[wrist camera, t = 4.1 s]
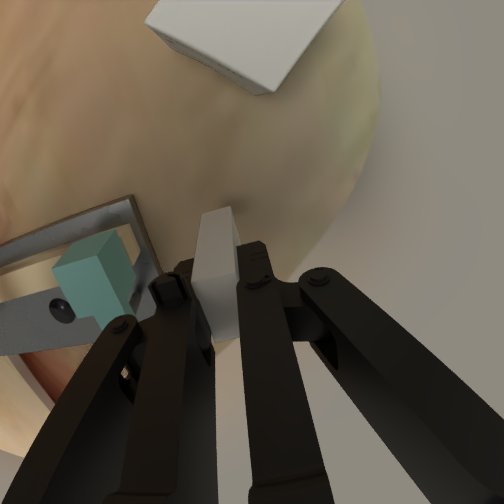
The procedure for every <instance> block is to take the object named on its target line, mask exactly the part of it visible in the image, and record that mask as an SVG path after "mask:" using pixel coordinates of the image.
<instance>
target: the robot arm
mask: <svg viewBox="0 0 504 504" xmlns="http://www.w3.org/2000/svg"><path fill="white" fill-rule="evenodd" d="M148 289H149V291H150V293H151V295H152V298H153V300H154V302H155V304H156V310H155V314H154V315H153V316H151V317H149V318H147V319H144V320H142V321H140V322H138V320H137V318H136V317H135V316H134V315H131V314H125V315H120V316H117V317H115V318H114V319H113V320H112V321H110V322H109V323H108V324H107V325H106V326H105V328H104V329H103V331H102V332H101V334H100V335H99V337H98V338H97V340H96V341H95V343H94V344H93V346H92V347H91V349H90V350H89V352H88V353H87V355H86V356H85V358H84V359H83V361H82V362H81V364H80V366H79V367H78V369H77V370H76V372H75V373H74V375H73V377H72V378H71V380H70V381H69V383H68V384H67V386H66V388H65V389H64V391H63V393H62V394H61V396H60V397H59V399H58V401H57V402H56V404H55V406H54V408H53V409H52V411H51V412H50V414H49V416H48V417H47V419H46V421H45V423H44V424H43V426H42V428H41V430H40V431H39V433H38V435H37V437H36V438H35V440H34V442H33V444H32V445H31V447H30V449H29V451H28V453H27V455H26V456H25V458H24V460H23V462H22V464H21V466H20V468H19V470H18V472H17V473H16V475H15V477H14V479H13V481H12V483H11V485H10V487H9V489H8V491H7V493H6V495H5V498H4V499H3V501H2V504H218V482H217V450H216V405H215V404H216V403H215V350H214V347H213V345H212V343H211V334H212V336H213V339H214V341H215V343H216V342H221V341H226V340H230V339H235V338H239V337H240V345H241V358H242V370H243V381H244V393H245V404H246V415H247V426H248V437H249V447H250V458H251V468H252V480H253V482H252V487H251V488H250V489H249V494H248V504H335V503H334V499H333V495H332V491H331V487H330V483H329V479H328V476H327V473H326V470H325V466H324V463H323V459H322V455H321V451H320V447H319V443H318V439H317V435H316V431H315V427H314V423H313V420H312V415H311V411H310V408H309V403H308V400H307V396H306V392H305V388H304V384H303V380H302V377H301V373H300V369H299V365H298V361H297V357H296V354H295V350H294V346H293V342H294V341H296V342H297V341H309V343H310V345H311V347H312V348H313V350H314V351H315V352H316V354H317V355H318V356H319V358H320V359H321V360H322V362H323V363H324V364H325V366H326V367H327V368H328V370H329V371H330V372H331V374H332V375H333V376H334V378H335V379H336V380H337V382H338V383H339V384H340V386H341V387H342V388H343V390H344V391H345V392H346V393H347V395H348V396H349V397H350V399H351V400H352V401H353V403H354V404H355V405H356V407H357V408H358V409H359V411H360V412H361V413H362V415H363V416H364V417H365V418H366V420H367V421H368V422H369V424H370V425H371V426H372V428H373V429H374V430H375V432H376V433H377V434H378V436H379V437H380V438H381V439H382V441H383V442H384V443H385V445H386V446H387V447H388V449H389V450H390V451H391V453H392V454H393V455H394V456H395V458H396V459H397V460H398V461H399V463H400V464H401V466H402V467H403V468H404V469H405V471H406V472H407V473H408V475H409V476H410V477H411V479H412V480H413V481H414V482H415V484H416V485H417V486H418V488H419V489H420V490H421V491H422V493H423V494H424V495H425V497H426V498H427V499H428V500H429V502H430V503H431V504H504V419H503V418H502V417H500V416H499V415H498V414H497V413H496V412H495V411H494V410H493V409H492V408H491V407H490V406H489V405H488V404H487V403H486V402H485V401H484V400H483V399H482V398H481V397H479V396H478V395H477V394H476V393H475V392H474V391H473V390H472V389H471V388H470V387H469V386H468V385H467V384H465V383H464V382H463V381H462V380H461V379H460V378H459V377H458V376H457V375H456V374H455V373H453V372H452V371H451V370H450V369H449V368H448V367H447V366H446V365H445V364H444V363H443V362H441V361H440V360H439V359H438V358H437V357H436V356H435V355H434V354H432V353H431V352H430V351H429V350H428V349H427V348H426V347H425V346H424V345H422V344H421V343H420V342H419V341H418V340H417V339H416V338H415V337H413V336H412V335H411V334H410V333H409V332H407V330H405V329H404V328H403V327H402V326H401V325H400V324H399V323H397V322H396V321H395V320H394V319H393V318H392V317H390V316H389V315H388V314H387V313H386V312H385V311H383V310H382V309H381V308H380V307H379V306H378V305H377V304H375V303H374V302H373V301H371V299H369V298H368V297H367V296H366V295H365V294H364V293H362V292H361V291H360V290H359V289H357V288H356V287H355V286H354V285H353V284H352V283H350V282H349V281H348V280H347V279H346V278H345V277H343V276H342V275H341V274H340V273H339V272H337V271H336V270H334V269H332V268H326V267H320V268H319V267H318V268H314V269H311V270H308V271H306V272H305V273H303V274H302V275H301V276H300V278H299V281H298V282H295V283H289V282H282V281H280V280H278V279H277V278H275V276H274V274H273V270H272V267H271V263H270V260H269V256H268V252H267V249H266V245H265V244H264V243H262V242H260V241H255V242H251V243H247V244H244V245H241V242H240V238H239V235H238V231H237V228H236V224H235V220H234V217H233V213H232V210H231V206H228V207H224V208H220V209H217V210H213V211H209V212H205V213H202V215H201V221H200V227H199V233H198V239H197V245H196V251H195V258H192V259H188V260H184V261H180V262H179V264H178V265H177V266H176V267H175V268H174V271H173V272H167V273H165V274H162V275H160V276H158V277H156V278H155V279H153V280H152V281H151V282H150V283H149V285H148ZM124 367H125V369H126V370H127V372H128V375H127V377H126V378H123V376H122V375H121V372H122V370H123V368H124Z"/></svg>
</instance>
